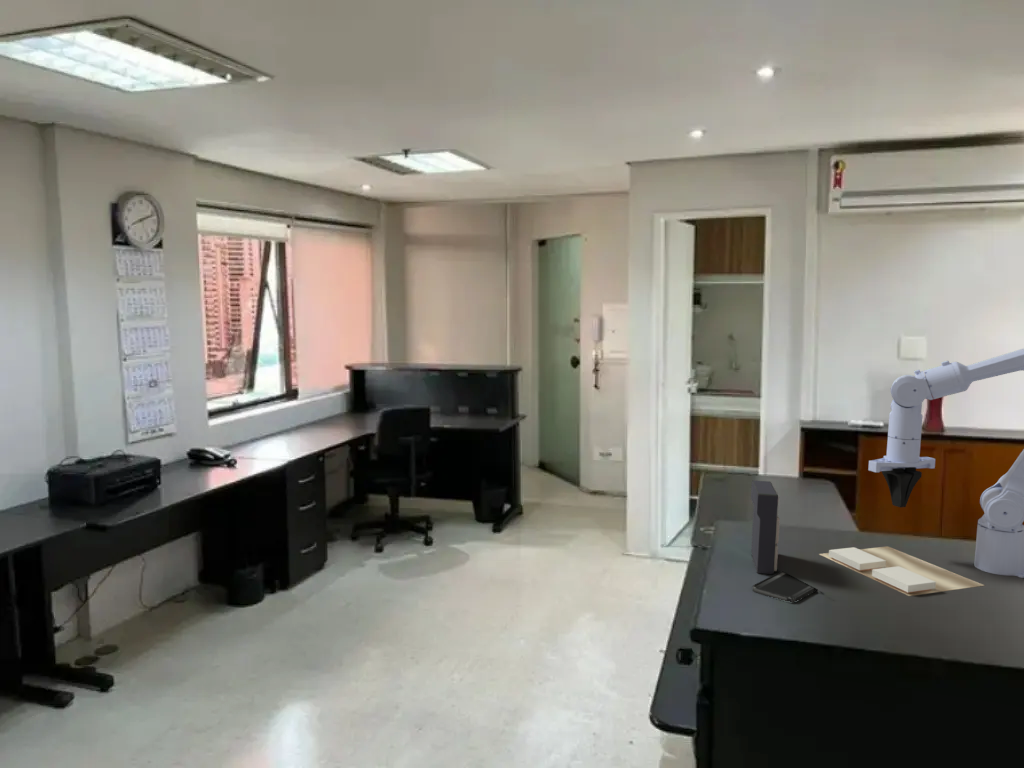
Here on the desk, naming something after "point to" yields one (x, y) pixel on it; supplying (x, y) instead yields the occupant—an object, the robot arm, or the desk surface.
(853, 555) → the tile
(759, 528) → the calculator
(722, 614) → the desk surface
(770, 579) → the phone
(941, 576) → the board
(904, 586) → the tile
